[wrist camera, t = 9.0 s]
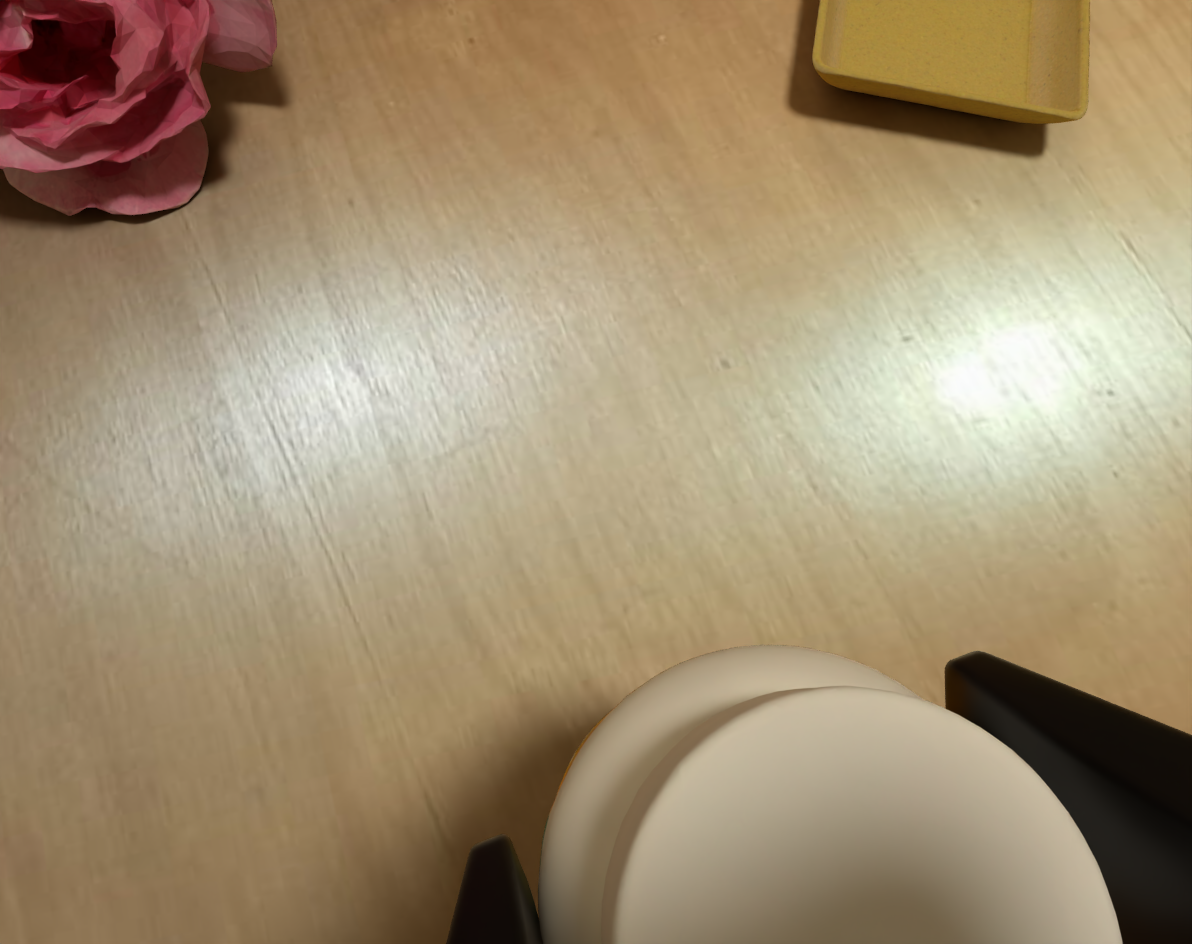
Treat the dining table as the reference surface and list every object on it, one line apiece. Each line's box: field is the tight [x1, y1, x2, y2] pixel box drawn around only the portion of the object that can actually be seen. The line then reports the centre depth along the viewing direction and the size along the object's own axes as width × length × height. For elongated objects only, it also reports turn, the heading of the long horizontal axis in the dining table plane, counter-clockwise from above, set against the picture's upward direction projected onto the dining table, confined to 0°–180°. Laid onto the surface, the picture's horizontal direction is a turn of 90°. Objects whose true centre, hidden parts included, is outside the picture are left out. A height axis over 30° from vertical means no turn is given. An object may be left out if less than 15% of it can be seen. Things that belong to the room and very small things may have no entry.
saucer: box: [812, 0, 1090, 124], centre depth 29 cm, size 9×9×2 cm
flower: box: [0, 0, 277, 216], centre depth 24 cm, size 11×10×10 cm
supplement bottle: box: [538, 645, 1123, 944], centre depth 11 cm, size 5×5×10 cm
